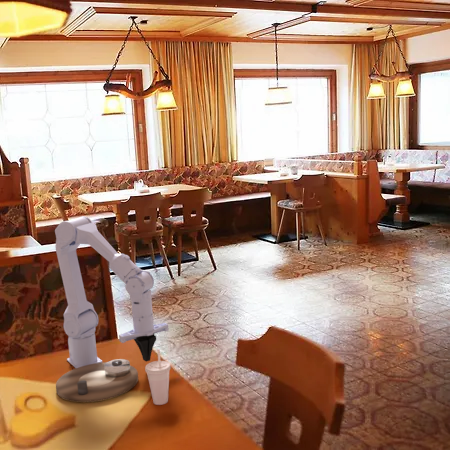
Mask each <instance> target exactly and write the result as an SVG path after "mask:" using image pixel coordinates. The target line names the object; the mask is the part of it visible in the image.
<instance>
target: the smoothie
mask: <svg viewBox="0 0 450 450" xmlns="http://www.w3.org/2000/svg"><path fill="white" fill-rule="evenodd" d="M156 351H157V360H155V361H151V362H149V363H147V364H146V365H145V367H144V368H145V369H144V370H145V373H146V374H147V379H148V384H149V388H150V393H151V397H152V400H153V401H152V402H153V404H154V405H157V406H161V405H165V404H167V403H168V402H169V385H170V370H171V363H170V362H168V361H166V360H161V351H160V348H157V349H156Z"/></svg>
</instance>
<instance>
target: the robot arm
mask: <svg viewBox="0 0 450 450" xmlns="http://www.w3.org/2000/svg"><path fill="white" fill-rule="evenodd" d="M97 227H98V226H97V224H96V223H94V222H93V221H92V220H91V219H90V217H88V216H85V215H84V216H83V215H82V216H79V217H76V218H73V219H70V220H63V221H61V222H60V223H58V225H57V227H55V230H54V233H55V238H56V239H55V252H56V256H57V261H58V265H59V269H60V270H59V271H60V274H61V279H62V283H63V284H62V285H63V288H64V293H65V298H66V301H67V306H66V309H65V311H64V313H63V329H64V332H65V334H66V335H67V336H68V338H67V344H68V352H69V357H68V358H66V361H67V362H69V364H70V365H72V366H73V367H74V369H76V368H79V367H82V366H85V365H90V364H95V363H103V360H102V359H100V357H98V351H97V343H96V333H95V332H96V327H97V326H98V325H99V316H98V313H97V312H96V310H95V308H94V305H93V303H91V302H90V301H88V300H87V295H86V290H85V288H84V287H85V286H84V282H83V277H82V273H81V268H80V263H79V260H78V254H77V249H78V247H80V245H89V246H90V247H91V248H93V249H94V250H95V251H96V252H97V253H98V255H99V254H100V255H101V256H102V258H104V259H105V260H106V261H107V262H108V264H109V265H108V266H109V270H111V271H112V272H113V273H114V274H115V275H116V276H117V277H118V278H119V279H120V280H121V281H122V282H123V283H124V284H125V290H126V292H127V294H128V295H129V299H130V303H131V305H130V306H131V313H132V324H133V325H132V326H133V329H130V330H129V331H125V332H124V333H121V334H119V335H118V338H119V339H118V340H119V342H120V343H121V344H124V343H126V342H129V341H132V340H133V341H134V342H135V344H136V345H137V347H138V348H139V351H140V354H141V358H142V360H143V361H144V362H146V363H147V362H150V361H151V359H152V351H153V349H154V346H155V343H156V341H157V336H156V335H155V334H158V333H161V332H169V323H166V322H162V323H157V324H155V323H154V312H153V301H152V289H153V286H154V284H155V279H154V277H153V275H152V274H151V273H150V271H148V270H146V269H145V270H144V269H141V267H138V266H137V265H136V264H135V263H134V262H133V261H132V260H131V257H130V256H129V255H128V254H125V253H118V251H116V249H115V248H114V247H113V246H112V245H111V244H110V243H109V241H108V240H106V238H105V237H104V236H103V235H102V234H101V232H100V231H99V230H98V228H97Z"/></svg>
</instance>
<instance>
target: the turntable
mask: <svg viewBox="0 0 450 450" xmlns="http://www.w3.org/2000/svg"><path fill="white" fill-rule="evenodd" d="M107 362H108V361H105V362H103V361H102V363H95V364H90V365H85V366H82V367H79V368H73V369H72V370H69V371H67V372H65V373H64V374H62V375H61V376H60V377H59V378H58V379H57V381H56V383H55V389H56V390H55V391H56V394H57V395H58V396H59V397H60V398H61V399H63V400H66V401H69V402H74V403H75V402H77V403H78V402H79V403H92V402H93V403H94V402H98V401H99V402H100V401H105V400H109V399H113V398H116V397H118V396H121V395H123V394H125V393H127V392H129V391H130V390H131V389H133V388H134V387H135V386H136V385H137V383H138V382H139V372H138V369H137V368H135V366H132V365H131V364H130V373H129V374H127V375H125V376H122V377H108V376H106V375H105V368H104V365H105V363H107Z"/></svg>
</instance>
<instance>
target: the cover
mask: <svg viewBox="0 0 450 450" xmlns="http://www.w3.org/2000/svg"><path fill="white" fill-rule="evenodd" d="M106 362H107V363H105V365H104V368H105V375H106V376H108V377H122V376H125V375H127V374H129V373H130V365H131V364H130V363H131V362H130V361H129V359H124V358H119V359H118V358H117V359H112V360H110V361H106Z"/></svg>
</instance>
